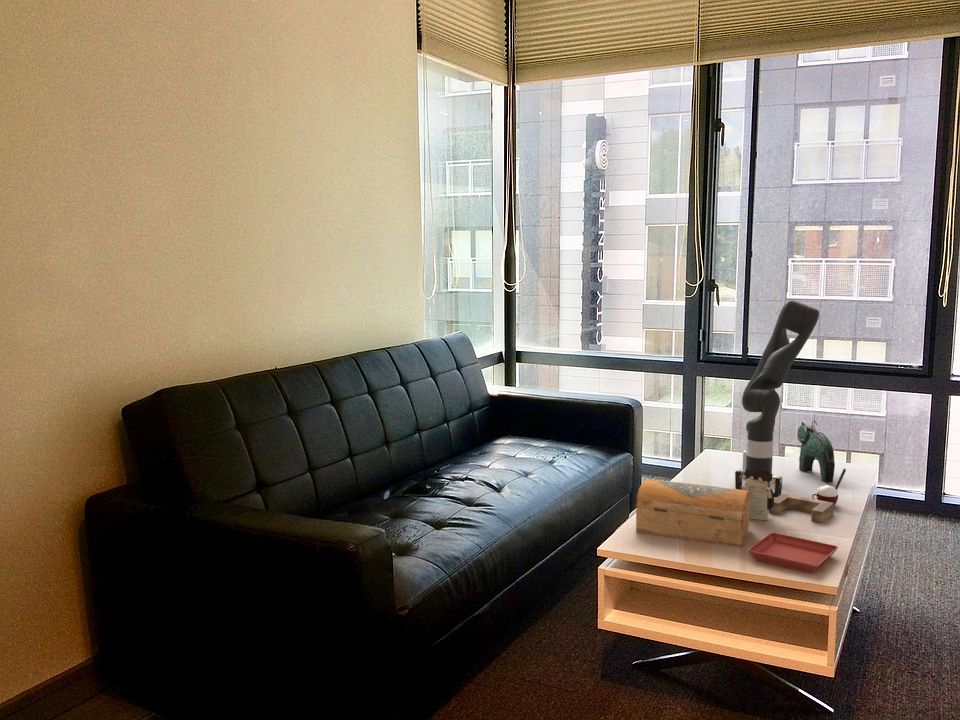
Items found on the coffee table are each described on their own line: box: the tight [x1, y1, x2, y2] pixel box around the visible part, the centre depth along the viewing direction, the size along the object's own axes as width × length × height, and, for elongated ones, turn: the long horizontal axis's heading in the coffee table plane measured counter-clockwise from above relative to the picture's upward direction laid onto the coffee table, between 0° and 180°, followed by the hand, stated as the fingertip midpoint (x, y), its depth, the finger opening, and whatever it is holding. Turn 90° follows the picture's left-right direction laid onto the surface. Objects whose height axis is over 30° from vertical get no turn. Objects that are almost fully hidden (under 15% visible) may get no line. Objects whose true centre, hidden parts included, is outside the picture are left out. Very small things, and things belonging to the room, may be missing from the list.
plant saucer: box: [747, 532, 839, 574], centre depth 216 cm, size 18×18×3 cm
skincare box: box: [745, 478, 769, 521], centre depth 248 cm, size 6×4×12 cm
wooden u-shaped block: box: [768, 492, 835, 524], centre depth 252 cm, size 16×11×4 cm
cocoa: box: [811, 467, 847, 506], centre depth 259 cm, size 10×6×12 cm, turn 55°
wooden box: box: [635, 479, 750, 548], centre depth 237 cm, size 30×16×14 cm, turn 64°
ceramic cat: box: [796, 419, 836, 484], centre depth 292 cm, size 20×6×20 cm, turn 6°
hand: (757, 506), depth 248 cm, fingers closed on skincare box, 7 cm apart
